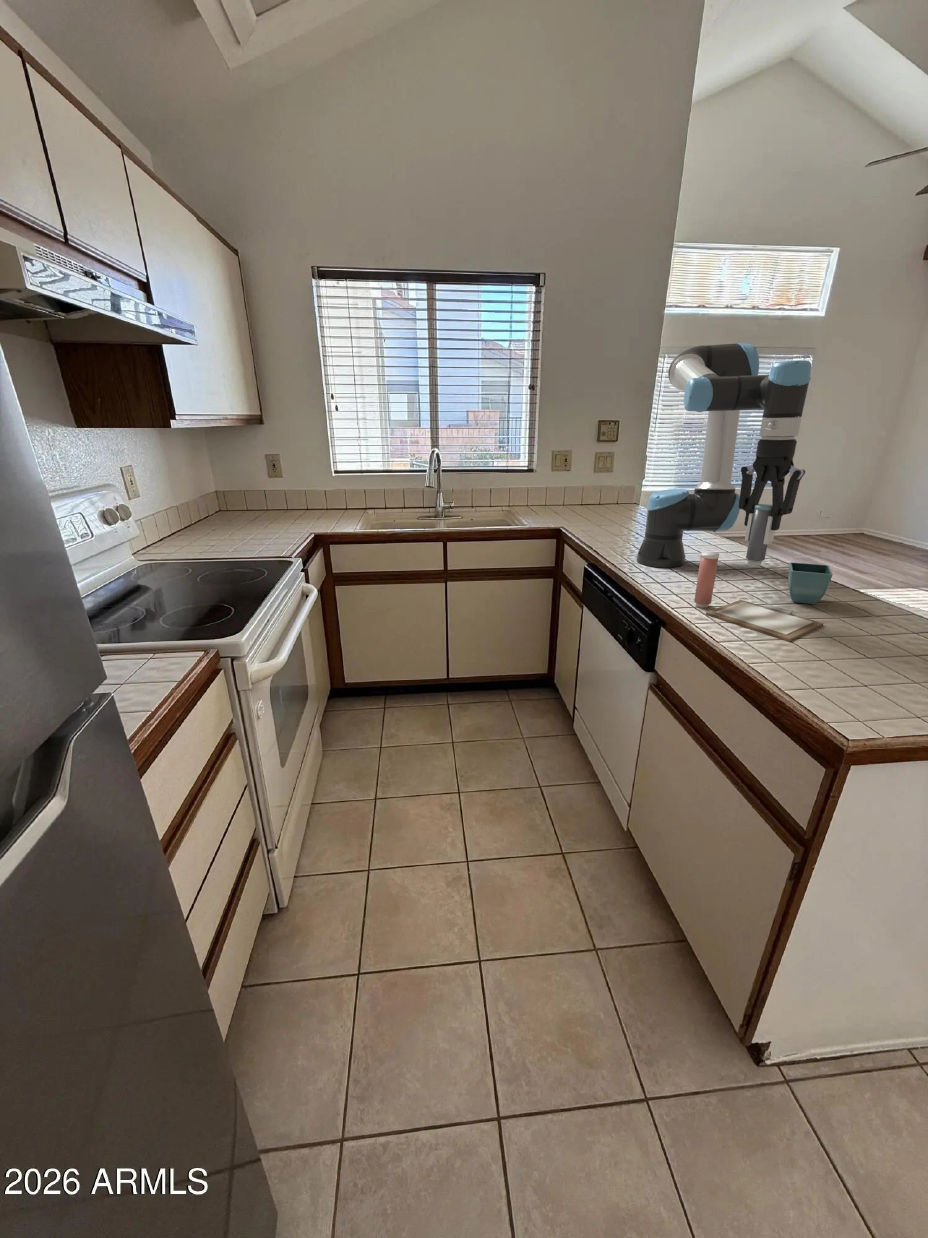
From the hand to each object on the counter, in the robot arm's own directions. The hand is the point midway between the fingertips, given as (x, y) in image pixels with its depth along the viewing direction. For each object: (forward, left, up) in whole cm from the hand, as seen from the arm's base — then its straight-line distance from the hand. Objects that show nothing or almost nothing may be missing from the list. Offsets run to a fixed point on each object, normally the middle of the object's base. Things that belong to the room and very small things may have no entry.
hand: (758, 541), depth 123 cm
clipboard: (+6, -3, -18) cm, 19 cm away
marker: (0, 0, -5) cm, 5 cm away
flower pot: (+5, +18, -18) cm, 26 cm away
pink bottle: (-8, -6, -18) cm, 20 cm away
